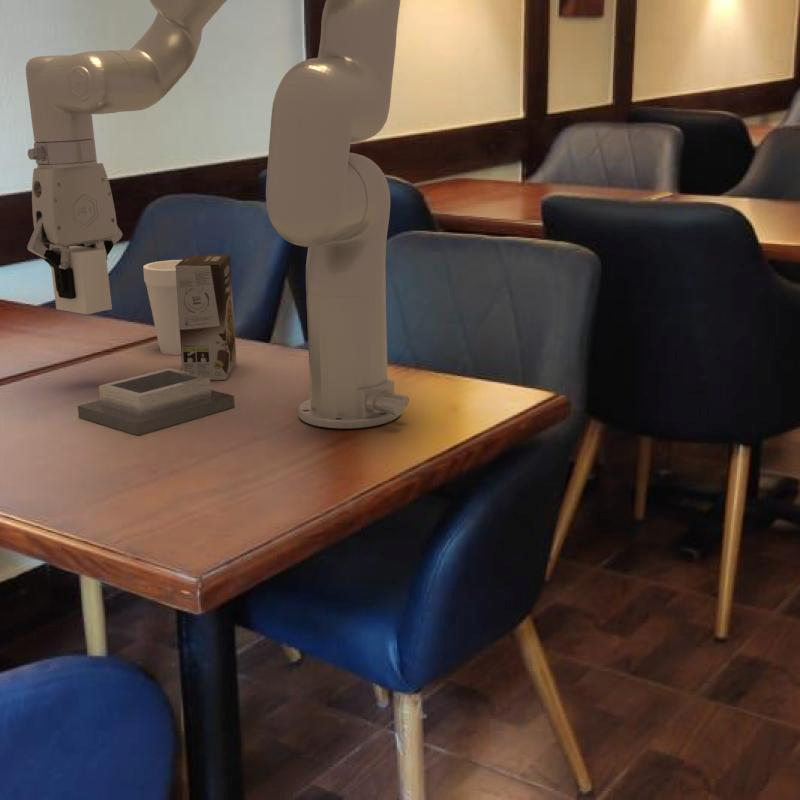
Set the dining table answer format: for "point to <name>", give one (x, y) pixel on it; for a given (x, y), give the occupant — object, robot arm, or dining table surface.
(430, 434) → the dining table surface
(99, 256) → the cream rectangular block
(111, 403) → the duct collar
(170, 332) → the foam cup
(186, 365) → the coffee box
